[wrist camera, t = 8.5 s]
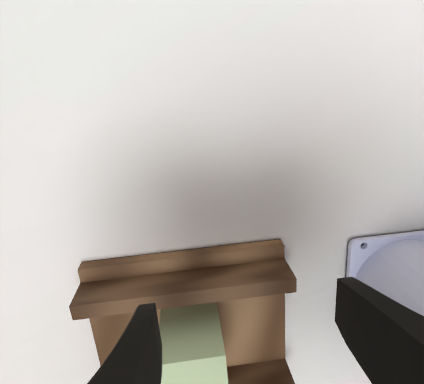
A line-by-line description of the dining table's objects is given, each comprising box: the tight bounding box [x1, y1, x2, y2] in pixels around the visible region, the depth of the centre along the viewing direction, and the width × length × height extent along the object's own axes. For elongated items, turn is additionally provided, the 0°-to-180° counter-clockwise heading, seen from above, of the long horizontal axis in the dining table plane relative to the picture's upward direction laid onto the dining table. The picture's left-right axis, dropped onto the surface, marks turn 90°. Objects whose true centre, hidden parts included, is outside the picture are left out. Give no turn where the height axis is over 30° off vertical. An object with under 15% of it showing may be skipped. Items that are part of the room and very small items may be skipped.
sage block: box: [159, 302, 228, 384], centre depth 22 cm, size 4×4×5 cm
